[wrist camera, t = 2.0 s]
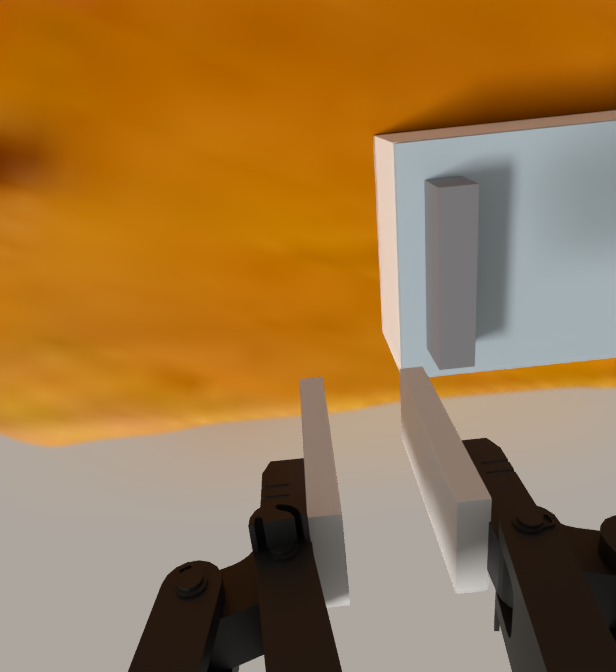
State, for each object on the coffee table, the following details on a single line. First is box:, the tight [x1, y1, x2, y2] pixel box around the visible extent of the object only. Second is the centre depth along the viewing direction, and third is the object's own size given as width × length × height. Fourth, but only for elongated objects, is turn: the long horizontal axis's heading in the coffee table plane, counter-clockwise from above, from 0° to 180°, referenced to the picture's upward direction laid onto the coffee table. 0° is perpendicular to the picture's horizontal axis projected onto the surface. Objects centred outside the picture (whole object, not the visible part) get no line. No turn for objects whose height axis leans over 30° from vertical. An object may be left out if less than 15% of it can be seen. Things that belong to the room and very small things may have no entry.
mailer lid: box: [393, 120, 616, 377], centre depth 31 cm, size 20×14×4 cm
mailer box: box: [373, 110, 616, 371], centre depth 36 cm, size 20×14×7 cm
